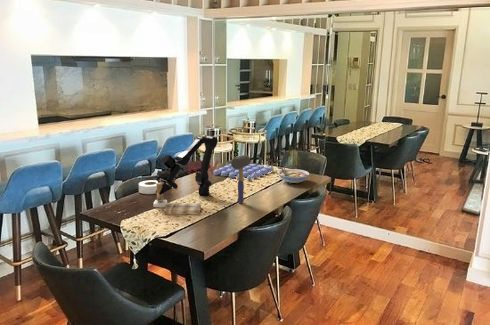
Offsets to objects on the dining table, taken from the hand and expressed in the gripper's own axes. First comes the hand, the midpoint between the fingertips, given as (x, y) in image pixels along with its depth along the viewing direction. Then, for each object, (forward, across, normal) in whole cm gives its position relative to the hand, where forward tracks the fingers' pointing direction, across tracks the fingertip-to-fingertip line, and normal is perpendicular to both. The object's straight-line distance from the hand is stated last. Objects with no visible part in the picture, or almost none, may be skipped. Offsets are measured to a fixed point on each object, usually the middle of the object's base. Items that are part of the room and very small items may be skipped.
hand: (157, 193), depth 240 cm
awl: (+4, 0, +6) cm, 7 cm away
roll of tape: (-3, -31, +15) cm, 35 cm away
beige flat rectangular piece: (+1, +17, +10) cm, 20 cm away
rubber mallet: (-23, +29, +35) cm, 51 cm away
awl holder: (+5, 0, +6) cm, 8 cm away
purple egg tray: (-57, -24, +70) cm, 93 cm away
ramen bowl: (-65, +20, +78) cm, 103 cm away
